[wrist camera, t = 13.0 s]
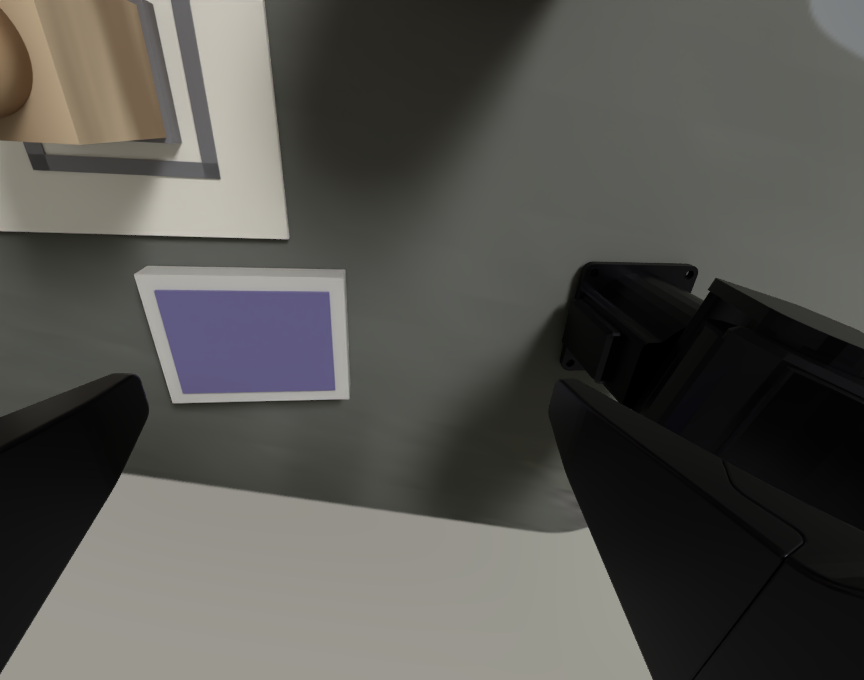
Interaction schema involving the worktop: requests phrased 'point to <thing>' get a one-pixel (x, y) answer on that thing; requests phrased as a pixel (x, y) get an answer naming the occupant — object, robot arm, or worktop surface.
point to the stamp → (83, 73)
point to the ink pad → (248, 332)
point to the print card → (171, 145)
